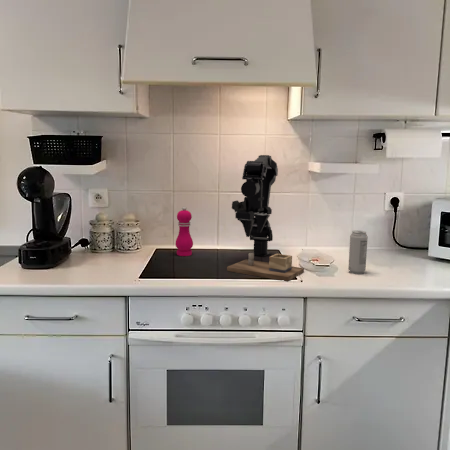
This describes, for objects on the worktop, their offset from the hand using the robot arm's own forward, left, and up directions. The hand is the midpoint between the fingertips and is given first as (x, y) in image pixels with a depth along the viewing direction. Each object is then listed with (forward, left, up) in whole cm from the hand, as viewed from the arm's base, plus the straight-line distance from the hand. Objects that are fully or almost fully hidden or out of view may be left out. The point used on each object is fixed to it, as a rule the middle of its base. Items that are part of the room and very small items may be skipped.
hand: (253, 234), depth 188 cm
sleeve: (+9, +16, -10) cm, 21 cm away
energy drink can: (-9, +38, -11) cm, 41 cm away
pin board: (+9, +10, -11) cm, 17 cm away
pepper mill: (+4, -30, -11) cm, 32 cm away
